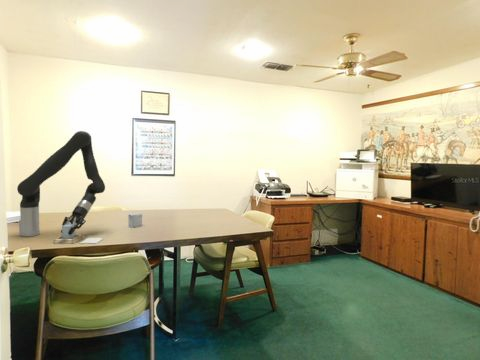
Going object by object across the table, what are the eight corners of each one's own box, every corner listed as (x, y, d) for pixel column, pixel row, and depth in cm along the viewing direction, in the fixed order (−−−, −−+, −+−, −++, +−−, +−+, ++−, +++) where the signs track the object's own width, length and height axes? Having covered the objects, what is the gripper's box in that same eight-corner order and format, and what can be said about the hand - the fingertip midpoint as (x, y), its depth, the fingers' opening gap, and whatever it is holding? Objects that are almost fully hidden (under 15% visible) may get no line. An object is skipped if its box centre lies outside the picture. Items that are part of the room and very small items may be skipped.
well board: (53, 243, 167) (53, 239, 167) (64, 237, 178) (63, 234, 178) (73, 243, 168) (73, 239, 168) (83, 238, 179) (83, 234, 179)
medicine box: (138, 225, 215) (138, 213, 214) (142, 226, 212) (142, 213, 211) (128, 226, 209) (128, 214, 208) (131, 228, 206) (131, 215, 205)
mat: (79, 243, 168) (79, 242, 168) (87, 238, 178) (87, 237, 178) (96, 243, 169) (96, 242, 169) (103, 238, 179) (103, 238, 179)
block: (62, 241, 172) (62, 225, 171) (68, 239, 176) (68, 224, 175) (68, 242, 170) (68, 226, 169) (75, 240, 175) (74, 224, 174)
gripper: (69, 204, 181) (51, 228, 170) (88, 206, 176) (71, 231, 166) (76, 211, 186) (60, 235, 176) (95, 213, 182) (79, 238, 171)
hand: (65, 233), depth 171 cm, fingers closed on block, 4 cm apart
